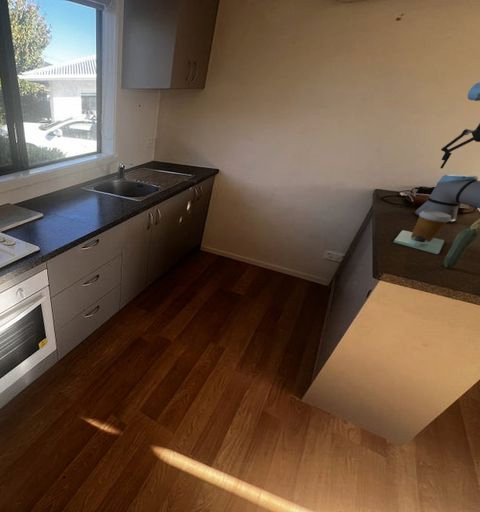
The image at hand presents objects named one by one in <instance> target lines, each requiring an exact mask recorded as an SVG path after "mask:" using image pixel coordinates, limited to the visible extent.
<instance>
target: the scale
mask: <svg viewBox="0 0 480 512" xmlns="http://www.w3.org/2000/svg"><path fill="white" fill-rule="evenodd" d="M412 233H413V231H408V230H404V229H403V230H401V231H400V232H399V233H398V235H397V236H396V238H395V239H394V240H393V243H395V244H399V245H402V246H405V247H409V248H414V249H417V250H421V251H424V252H427V253H432V254H435V255H439V254H440V252H441V249H442V247H443V246H444V244H445V240H444V239H440V238H436V237H434V238H433V239H432V240H431V241H430V242H428V241H426V240H425V242H419V241H416V240H415V238H414V237H411V235H412Z"/></svg>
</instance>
